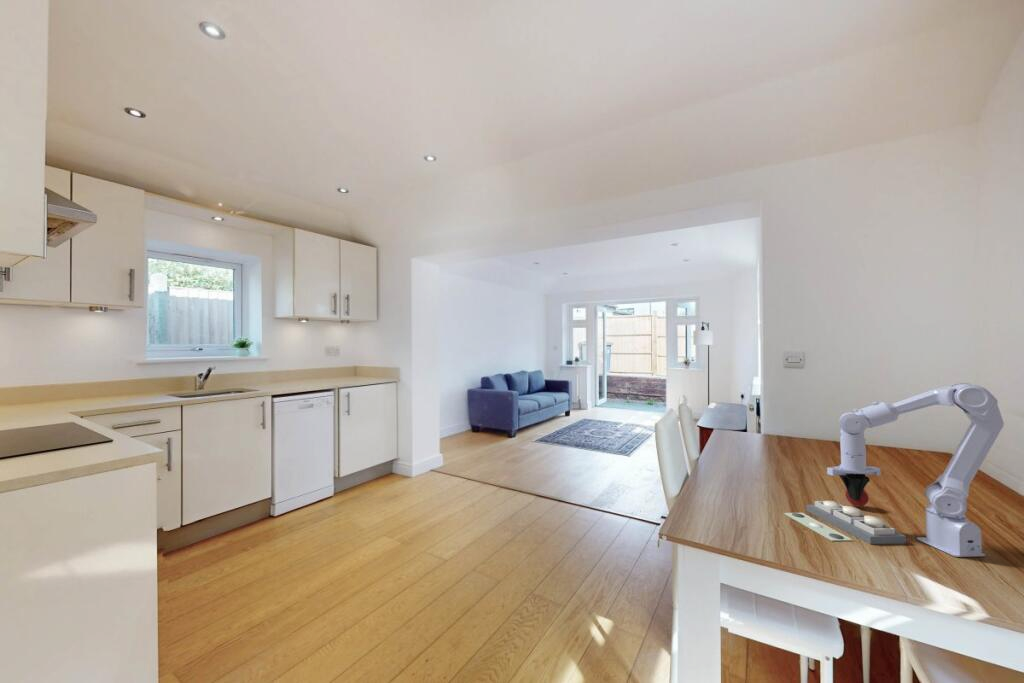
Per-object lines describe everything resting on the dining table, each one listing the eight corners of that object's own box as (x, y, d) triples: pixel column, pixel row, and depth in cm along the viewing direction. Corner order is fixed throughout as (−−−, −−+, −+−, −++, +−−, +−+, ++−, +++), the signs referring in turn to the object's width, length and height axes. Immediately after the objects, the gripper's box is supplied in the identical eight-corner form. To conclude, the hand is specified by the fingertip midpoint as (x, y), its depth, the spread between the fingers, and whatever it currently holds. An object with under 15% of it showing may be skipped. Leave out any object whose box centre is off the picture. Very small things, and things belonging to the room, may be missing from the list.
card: (853, 540, 108) (853, 539, 108) (832, 541, 107) (831, 539, 107) (802, 513, 126) (802, 512, 126) (784, 513, 125) (784, 512, 125)
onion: (873, 511, 127) (872, 487, 127) (852, 510, 128) (852, 485, 128) (861, 504, 133) (860, 481, 133) (841, 503, 134) (841, 480, 134)
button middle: (864, 517, 115) (863, 511, 115) (851, 517, 115) (850, 511, 115) (851, 511, 119) (851, 505, 119) (839, 511, 119) (839, 506, 119)
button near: (887, 528, 108) (887, 521, 108) (873, 528, 108) (873, 521, 108) (873, 521, 112) (873, 515, 112) (860, 522, 112) (860, 515, 112)
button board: (906, 543, 106) (905, 530, 106) (870, 544, 106) (870, 531, 106) (836, 510, 128) (835, 499, 128) (806, 510, 128) (806, 500, 128)
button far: (843, 511, 122) (843, 505, 122) (830, 511, 122) (830, 505, 122) (832, 506, 126) (832, 500, 126) (820, 506, 126) (820, 500, 126)
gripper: (864, 449, 121) (866, 493, 120) (818, 450, 120) (819, 494, 120) (886, 455, 113) (888, 502, 113) (837, 456, 113) (839, 503, 113)
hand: (854, 499), depth 116 cm, fingers closed
